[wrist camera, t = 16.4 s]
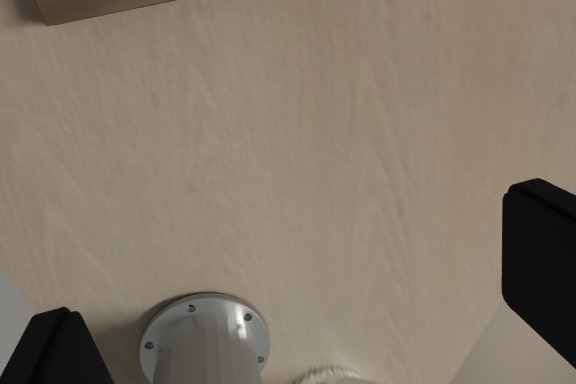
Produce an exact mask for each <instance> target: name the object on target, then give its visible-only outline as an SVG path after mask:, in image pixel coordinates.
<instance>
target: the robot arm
mask: <svg viewBox="0 0 576 384" xmlns="http://www.w3.org/2000/svg"><path fill="white" fill-rule="evenodd" d="M502 295H503V298H504V300H505V302H506V303H507V305H508V306H509V307H510V308H511V309H512V310H513V311H514V312H516V314H518V315H519V316H520V317H521V318H522V319H523V320H524V321H525V322H526V323H527V324H528V325H529V326H530V327H531V328H532V329H534V330H535V331H536V332H537V333H538V334H539V335H540V336H541V337H542V338H543V339H544V340H545V341H546V342H548V344H550V345H551V346H552V347H553V348H554V349H555V350H556V351H557V352H558V353H559V354H560V355H561V356H562V357H563V358H564V359H566V360H567V361H568V362H569V363H570V364H571V365H572V366H573V367H574V368H575V369H576V195H574V194H572V193H569V192H567V191H565V190H563V189H561V188H559V187H557V186H555V185H553V184H551V183H549V182H547V181H545V180H543V179H539V178H536V179H531V180H528V181H524V182H520V183H517V184H513V185H512V186H510V187H509V190H508V193H506V194H505V195H504V196H503V205H502ZM269 352H270V338H269V332H268V329H267V325H266V323H265V321H264V319H263V317H262V316H261V315H260V313H259V312H258V311H257V310H256V309H255V308H254V307H252V306H251V305H250V304H248V303H247V302H245V301H243V300H241V299H239V298H237V297H234V296H230V295H226V294H218V293H204V294H196V295H192V296H187V297H184V298H182V299H179V300H177V301H174V302H173V303H171V304H169V305H168V306H166V307H164V308H163V309H162V310H161V311H159V312H158V313H157V314H156V315H155V316H154V317H153V318H152V320H151V321H150V322H149V324H148V325H147V326H146V329H145V331H144V333H143V335H142V339H141V343H140V351H139V360H140V366H141V368H142V371H143V373H144V375H145V377H146V378H147V379H148V381H149V382H150V383H151V384H262V380H261V375H260V372H261V371H262V369H263V367H264V366H265V364H266V362H267V359H268V356H269ZM0 384H114V382H113V380H112V378H111V376H110V373H109V371H108V369H107V367H106V365H105V363H104V361H103V359H102V357H101V355H100V353H99V351H98V349H97V347H96V345H95V343H94V340H93V338H92V336H91V334H90V332H89V330H88V328H87V326H86V324H85V322H84V320H83V318H82V316H81V314H80V313H79V312H77V311H74V312H71V311H70V310H69V309H68V308H66V307H62V308H58V309H54V310H51V311H47V312H43V313H40V314H36V315H34V316H33V317H32V318H31V320H30V322H29V324H28V326H27V327H26V329H25V331H24V333H23V335H22V337H21V339H20V341H19V343H18V345H17V346H16V348H15V350H14V352H13V354H12V356H11V358H10V360H9V362H8V363H7V365H6V367H5V369H4V371H3V373H2V375H1V377H0Z"/></svg>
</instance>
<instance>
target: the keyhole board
mask: <svg viewBox="0 0 576 384" xmlns="http://www.w3.org/2000/svg"><path fill="white" fill-rule="evenodd" d="M170 1H175V0H36V2H37V5H38V7H39V10H40V12H41V15H42V18H43V20H44V23H45V25H46V26H51V25H59V24H64V23H68V22H73V21H78V20H83V19H88V18H93V17H97V16H102V15H107V14H112V13H117V12H122V11H126V10H131V9H136V8H141V7H146V6H150V5H155V4H160V3H165V2H170Z"/></svg>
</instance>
